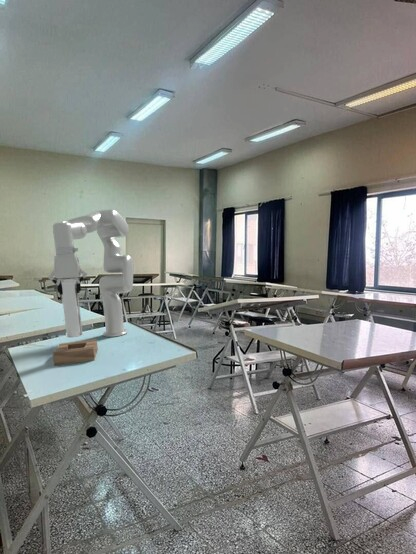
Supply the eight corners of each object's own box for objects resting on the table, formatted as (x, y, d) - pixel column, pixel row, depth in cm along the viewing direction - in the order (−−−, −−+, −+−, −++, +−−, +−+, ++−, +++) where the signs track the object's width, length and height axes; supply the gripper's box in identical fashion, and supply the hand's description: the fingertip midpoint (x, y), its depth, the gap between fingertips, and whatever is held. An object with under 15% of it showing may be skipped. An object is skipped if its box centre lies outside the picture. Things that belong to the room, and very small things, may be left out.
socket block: (61, 354, 170) (60, 343, 170) (97, 349, 173) (96, 339, 173) (54, 365, 155) (52, 353, 154) (94, 360, 158) (93, 348, 157)
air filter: (78, 332, 167) (72, 277, 165) (85, 334, 163) (78, 277, 160) (64, 336, 163) (57, 279, 160) (70, 338, 158) (64, 279, 156)
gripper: (87, 250, 164) (91, 290, 166) (45, 253, 161) (50, 294, 163) (85, 250, 157) (89, 292, 159) (41, 253, 154) (46, 296, 156)
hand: (69, 293), depth 161 cm, fingers closed on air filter, 6 cm apart
